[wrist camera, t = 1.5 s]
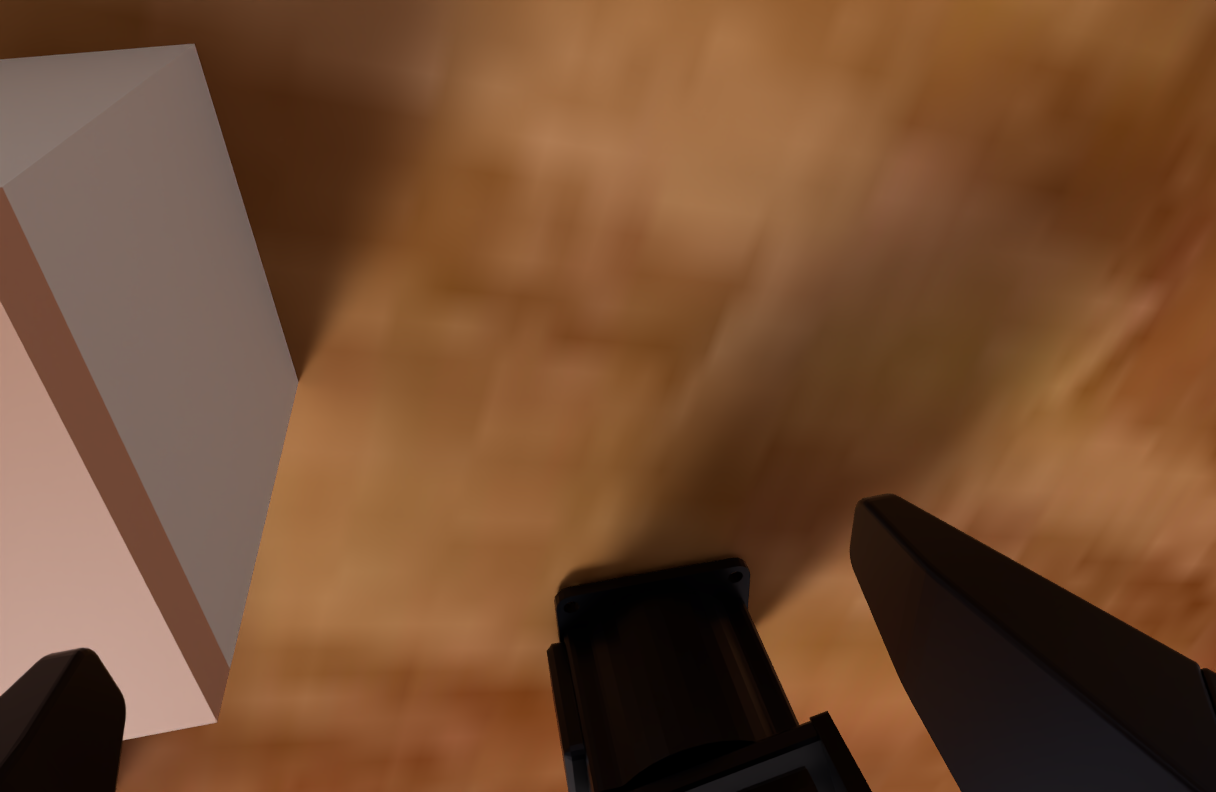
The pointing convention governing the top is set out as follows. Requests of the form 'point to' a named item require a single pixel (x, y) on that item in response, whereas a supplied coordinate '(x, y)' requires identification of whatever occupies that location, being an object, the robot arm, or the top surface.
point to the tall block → (131, 379)
